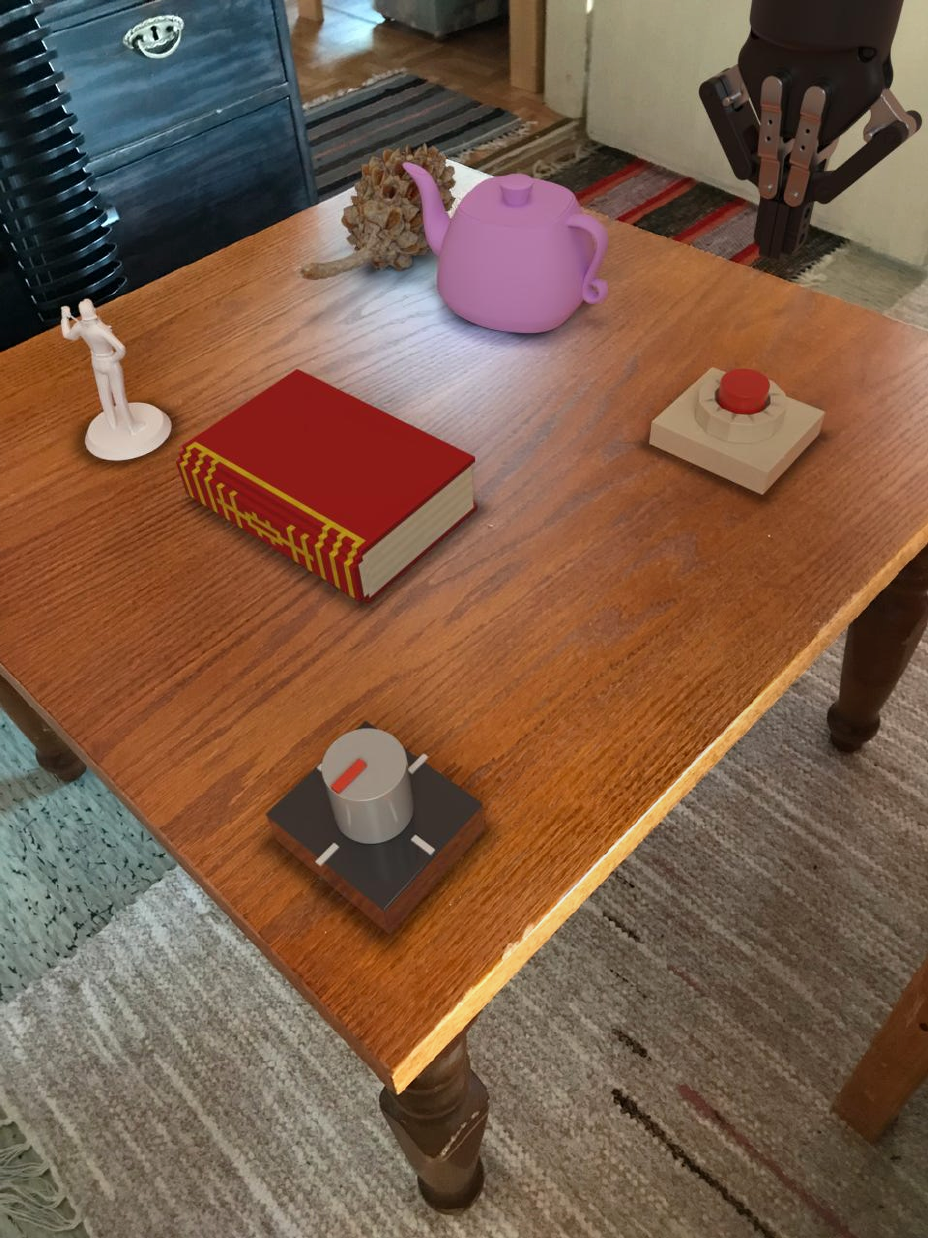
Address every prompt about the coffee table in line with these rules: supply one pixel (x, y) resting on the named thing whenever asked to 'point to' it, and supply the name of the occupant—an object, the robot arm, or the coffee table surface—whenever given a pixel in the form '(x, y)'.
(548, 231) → the teapot
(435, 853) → the panel
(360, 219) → the pine cone
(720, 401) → the button
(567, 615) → the coffee table surface
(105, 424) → the figurine
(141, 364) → the coffee table surface
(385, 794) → the burner knob
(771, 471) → the block
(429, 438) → the book
